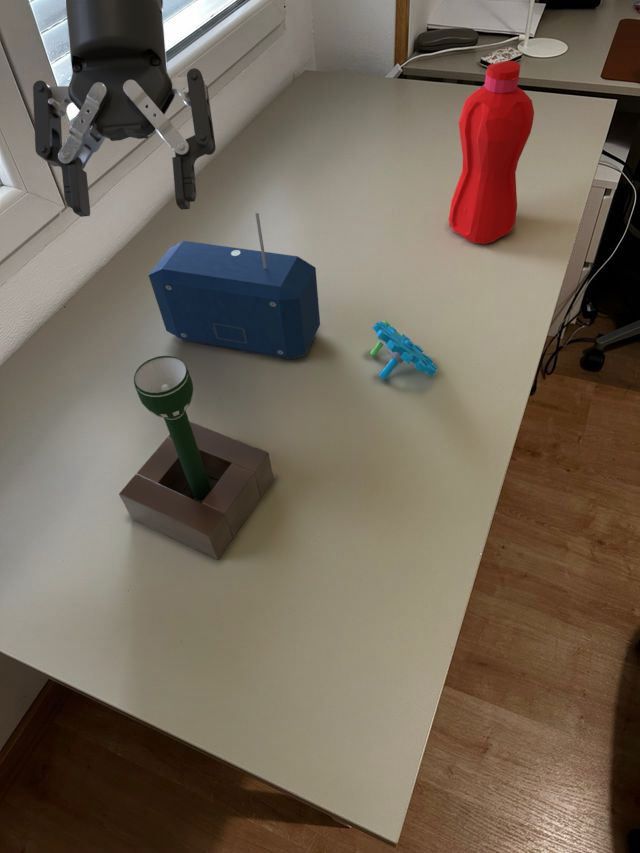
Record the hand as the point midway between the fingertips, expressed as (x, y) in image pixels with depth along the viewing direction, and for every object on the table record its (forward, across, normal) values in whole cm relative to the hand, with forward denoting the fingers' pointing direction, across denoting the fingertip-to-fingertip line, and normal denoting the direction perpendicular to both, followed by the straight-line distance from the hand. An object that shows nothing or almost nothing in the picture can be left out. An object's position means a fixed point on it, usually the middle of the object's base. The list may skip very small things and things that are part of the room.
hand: (132, 210), depth 54 cm
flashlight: (+28, 0, +19) cm, 33 cm away
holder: (+28, 0, +18) cm, 33 cm away
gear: (+14, +25, +32) cm, 43 cm away
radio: (+8, +4, +38) cm, 39 cm away
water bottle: (-8, +41, +54) cm, 68 cm away
